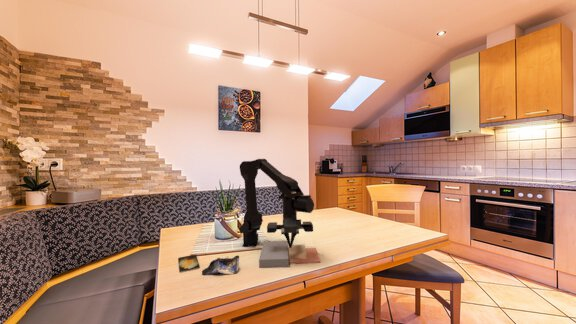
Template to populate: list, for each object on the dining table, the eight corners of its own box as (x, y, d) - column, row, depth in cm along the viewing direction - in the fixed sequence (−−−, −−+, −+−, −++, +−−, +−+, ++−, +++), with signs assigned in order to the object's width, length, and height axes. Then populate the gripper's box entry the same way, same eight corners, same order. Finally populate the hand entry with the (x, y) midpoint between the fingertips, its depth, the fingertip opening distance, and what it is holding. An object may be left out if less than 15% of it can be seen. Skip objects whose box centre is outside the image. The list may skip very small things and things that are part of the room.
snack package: (214, 284, 78) (244, 270, 87) (212, 264, 79) (242, 252, 88) (198, 278, 87) (226, 266, 95) (195, 260, 87) (224, 249, 96)
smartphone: (196, 254, 103) (200, 267, 89) (196, 255, 103) (200, 269, 89) (177, 257, 99) (179, 272, 86) (177, 259, 99) (179, 274, 86)
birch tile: (288, 259, 94) (288, 253, 94) (288, 250, 103) (288, 244, 103) (306, 258, 94) (306, 252, 94) (304, 250, 103) (304, 244, 103)
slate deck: (259, 267, 89) (259, 259, 89) (264, 247, 109) (264, 241, 109) (288, 266, 89) (288, 258, 89) (288, 247, 109) (288, 240, 109)
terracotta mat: (289, 263, 92) (289, 262, 92) (288, 249, 106) (288, 248, 106) (320, 262, 92) (320, 261, 92) (315, 248, 106) (315, 247, 106)
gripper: (265, 215, 90) (266, 256, 91) (314, 214, 90) (315, 254, 91) (267, 209, 101) (268, 245, 102) (311, 208, 102) (312, 244, 102)
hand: (290, 247), depth 99 cm, fingers closed
